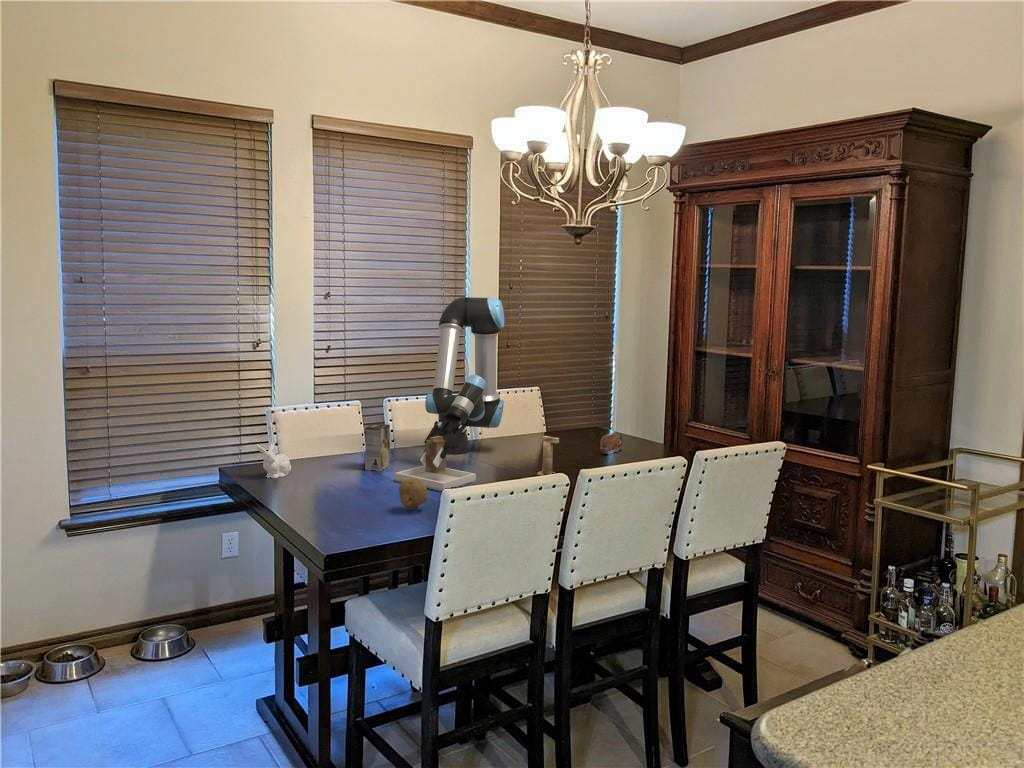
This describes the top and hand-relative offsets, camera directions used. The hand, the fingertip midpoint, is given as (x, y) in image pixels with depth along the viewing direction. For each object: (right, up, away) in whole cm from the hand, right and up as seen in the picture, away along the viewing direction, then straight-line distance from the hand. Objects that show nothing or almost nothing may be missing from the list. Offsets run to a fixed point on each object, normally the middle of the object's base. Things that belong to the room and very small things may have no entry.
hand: (428, 463), depth 283 cm
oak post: (+42, -6, +18) cm, 46 cm away
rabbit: (-55, -5, +4) cm, 55 cm away
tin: (+70, -2, +61) cm, 93 cm away
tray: (+2, -7, +4) cm, 8 cm away
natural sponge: (-2, -12, -31) cm, 33 cm away
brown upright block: (+2, -3, +3) cm, 5 cm away
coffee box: (-21, -4, +21) cm, 31 cm away
